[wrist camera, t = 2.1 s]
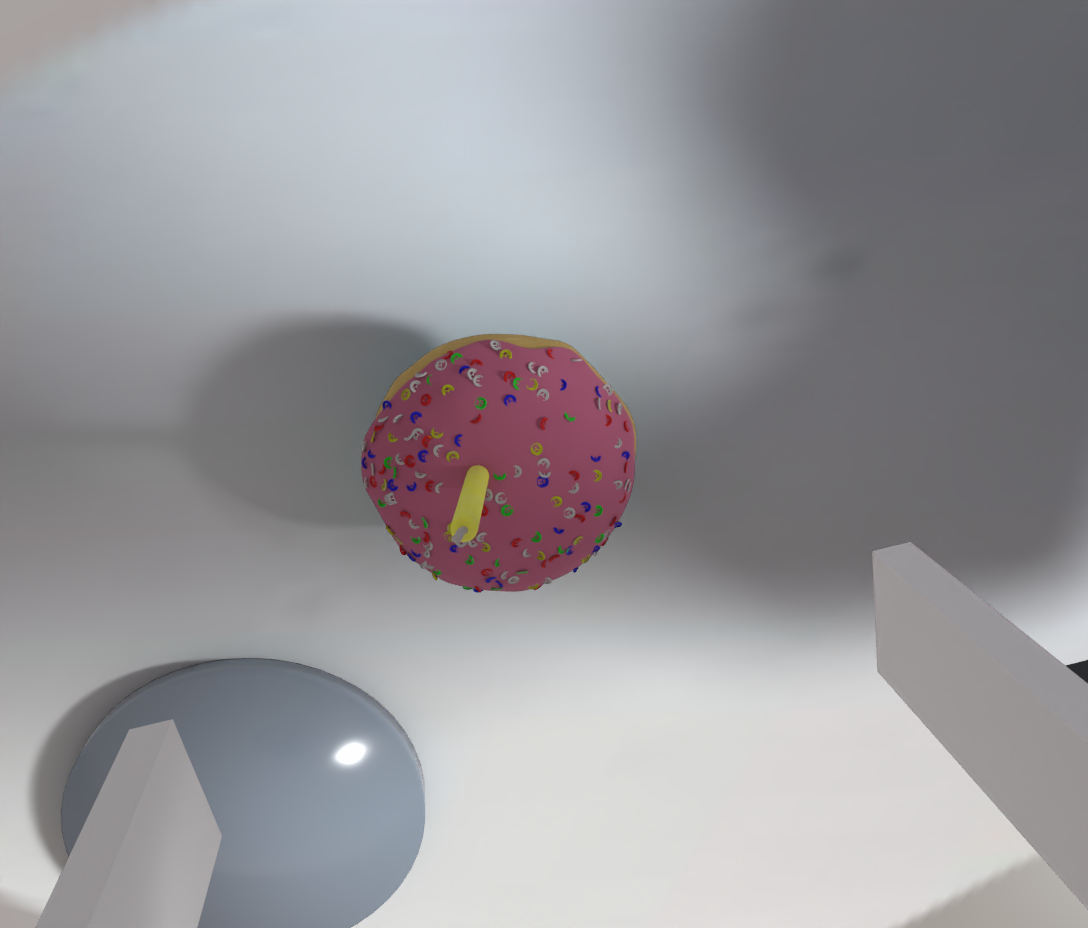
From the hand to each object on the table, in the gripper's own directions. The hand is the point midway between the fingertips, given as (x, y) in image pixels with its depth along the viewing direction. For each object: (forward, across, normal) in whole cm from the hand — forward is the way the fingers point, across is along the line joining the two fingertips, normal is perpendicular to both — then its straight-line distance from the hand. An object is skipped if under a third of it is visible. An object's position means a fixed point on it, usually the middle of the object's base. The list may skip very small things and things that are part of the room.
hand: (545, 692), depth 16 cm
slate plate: (+17, +12, +14) cm, 25 cm away
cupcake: (+17, 0, 0) cm, 17 cm away
